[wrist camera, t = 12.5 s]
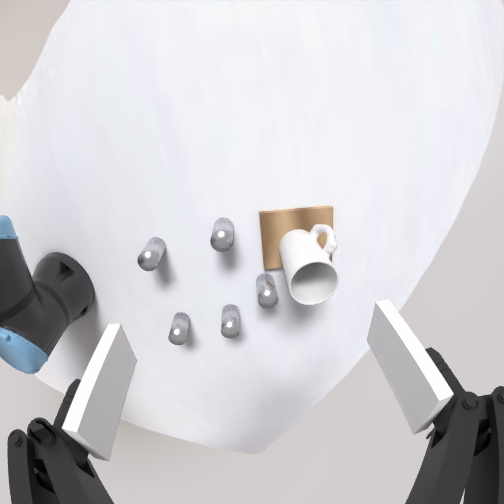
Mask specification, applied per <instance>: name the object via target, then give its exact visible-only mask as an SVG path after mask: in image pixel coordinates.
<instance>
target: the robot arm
mask: <svg viewBox="0 0 504 504" xmlns="http://www.w3.org/2000/svg"><path fill="white" fill-rule="evenodd" d="M93 301H94V290H93V286H92V283H91V280H90V278H89V276H88V275H87V273H86V271H85V270H84V269H83V268H82V266H81V265H80V264H79V263H78V262H77V261H75V260H74V259H73V258H71V257H70V256H68V255H66V254H63V253H58V252H54V253H50V254H48V255H46V256H45V257H44V258H43V259H42V260H41V261H40V262H39V263H38V265H37V267H36V269H35V271H34V273H33V276H32V277H31V274H30V272H29V269H28V266H27V264H26V261H25V259H24V256H23V253H22V250H21V247H20V244H19V241H18V236H16V233H15V230H14V228H13V225H12V222H11V220H10V218H9V217H8V216H6V215H0V357H1V358H2V359H3V360H4V361H6V362H7V363H8V364H10V365H11V366H12V367H14V368H16V369H17V370H20V371H22V372H24V373H28V374H34V373H37V372H38V371H39V370H40V369H41V367H42V366H43V365H44V363H45V362H46V361H47V360H48V357H49V356H50V354H51V352H52V351H53V349H54V347H55V346H56V344H57V342H58V341H59V339H60V337H61V336H62V334H63V333H64V331H65V330H66V328H67V327H68V325H70V324H71V323H73V322H74V321H76V320H78V319H79V318H81V317H83V316H84V315H85V314H86V313H87V312H88V310H89V309H90V307H91V306H92V304H93ZM367 342H368V344H369V346H370V347H371V349H372V351H373V353H374V355H375V357H376V359H377V361H378V362H379V364H380V366H381V368H382V370H383V372H384V374H385V376H386V378H387V380H388V382H389V384H390V386H391V388H392V390H393V392H394V394H395V396H396V398H397V400H398V402H399V404H400V406H401V409H402V411H403V413H404V415H405V417H406V419H407V421H408V423H409V426H410V428H411V430H412V432H413V434H416V433H419V432H421V431H423V430H425V429H427V428H428V427H429V426H430V425H431V423H432V422H433V424H434V426H435V427H434V428H433V430H432V431H431V432H430V433H429V434H428V435H427V437H426V439H428V438H429V437H430V436H431V438H430V441H429V445H428V448H427V451H426V454H425V457H424V460H423V462H422V465H421V468H420V471H419V473H418V476H417V478H416V481H415V483H414V485H413V488H412V490H411V492H410V495H409V497H408V499H407V501H406V503H405V504H460V501H461V498H462V495H463V492H464V489H465V494H464V502H463V504H504V387H502V386H499V387H497V388H496V389H495V390H494V391H493V392H492V394H490V395H484V396H477V395H476V394H474V393H472V392H466V391H465V390H464V389H463V388H462V386H461V385H460V383H459V381H458V380H457V378H456V377H455V376H454V374H453V372H452V371H451V369H449V367H448V365H447V364H446V363H445V362H444V359H443V358H442V357H441V355H440V354H439V353H438V352H437V351H436V350H434V349H433V348H427V349H424V348H423V346H422V345H421V343H420V342H419V341H418V339H417V338H416V336H415V335H414V334H413V332H412V331H411V329H410V328H409V327H408V325H407V324H406V323H405V321H404V320H403V318H402V317H401V316H400V315H399V313H398V312H397V310H396V309H395V308H394V306H393V305H392V304H391V303H390V301H389V300H382V301H377V302H376V303H375V308H374V312H373V317H372V321H371V325H370V329H369V333H368V337H367ZM136 362H137V359H136V357H135V355H134V353H133V351H132V348H131V346H130V344H129V342H128V340H127V337H126V335H125V333H124V330H123V328H122V326H121V324H108V326H107V328H106V330H105V332H104V334H103V336H102V338H101V340H100V342H99V344H98V346H97V348H96V350H95V352H94V354H93V356H92V358H91V360H90V362H89V365H88V367H87V369H86V371H85V373H84V376H83V378H82V380H80V379H75V381H74V382H73V383H72V384H71V385H70V386H69V388H68V390H67V392H66V396H65V397H64V399H63V403H62V404H61V406H60V409H59V411H58V414H57V416H56V418H55V421H54V424H53V426H52V425H51V424H50V423H49V422H48V421H47V420H45V419H44V418H35V419H34V420H32V421H31V423H30V424H29V426H28V428H27V435H26V434H25V433H24V432H23V431H21V430H18V429H16V430H14V431H12V432H11V433H10V435H9V437H8V474H9V486H10V494H11V501H12V504H114V503H113V501H112V499H111V498H110V496H109V494H108V493H107V491H106V490H105V488H104V486H103V484H102V482H101V481H100V479H99V477H98V475H97V473H96V471H95V469H94V468H93V465H92V464H91V461H90V460H89V459H88V458H87V457H88V454H89V453H90V454H91V455H92V456H93V457H94V458H97V459H101V460H106V461H109V459H110V455H111V451H112V447H113V442H114V439H115V435H116V431H117V427H118V423H119V419H120V416H121V412H122V409H123V405H124V401H125V398H126V395H127V391H128V388H129V385H130V381H131V378H132V375H133V372H134V369H135V365H136Z"/></svg>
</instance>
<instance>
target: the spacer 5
mask: <svg viewBox="0 0 504 504" xmlns="http://www.w3.org/2000/svg"><path fill="white" fill-rule="evenodd" d="M256 284H257V293H258V302H259V304H260V306H261V307H263V308H272V307H274V306H275V305H276V304H277V303H278V296H277V292H276V287H275V283H274V278H273V277H272V276H271V275H270V274H261V275H260V276H258V278H257V280H256Z"/></svg>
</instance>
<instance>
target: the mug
mask: <svg viewBox="0 0 504 504" xmlns="http://www.w3.org/2000/svg"><path fill="white" fill-rule="evenodd" d="M323 232H326V234H327V242H326V245H325V247H324V248H323V250H322V248H321V247H320V245H319V244H318V242H317V238H318V237H319V235H320V234H321V233H323ZM336 248H337V245H336V240H335V234H334V231H333V229H332V228H331V227H330V226H328V225H322V224H316V225H314V227H313V228H312V230H311V231H310V233H309V232H308V231H306V230H302V229H295V230H292V231H289V232H288V233H286V234H285V235H284V236H283V237H282V239H281V241H280V244H279V252H280V256H281V260H282V264H283V268H284V272H285V276H286V280H287V284H288V287H289V291H290V294H291V296H292V297H293V299H294V300H295V301H297V302H298V303H300V304H304V305H316V304H319V303H322V302H324V301H326V300H327V299H329V298H330V297H331V296H332V295H333V294H334V292H335V291H336V289H337V287H338V283H339V275H338V272H337V270H336V268H335V267H334V266H333V264H332V262H331V261H330V260H329V256H330V254H331V253H333V252H334V251H335V249H336Z"/></svg>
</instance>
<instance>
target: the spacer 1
mask: <svg viewBox="0 0 504 504" xmlns="http://www.w3.org/2000/svg"><path fill="white" fill-rule="evenodd" d="M165 249H166V245H165V242H164V241H163V240H162V239H160V238H152V239H151V240H150V241H149V243H148V244H147V245H146V247H145V248H144V250H143V251H142V252H141V254H140V255H139V257H138V264H139V266H140V267H141V268H142V269H143V270H145V271H152V270H154V269H155V268H156V266H157V264H158V262H159V261H160V259H161V257H162V255H163V253H164V251H165Z"/></svg>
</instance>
